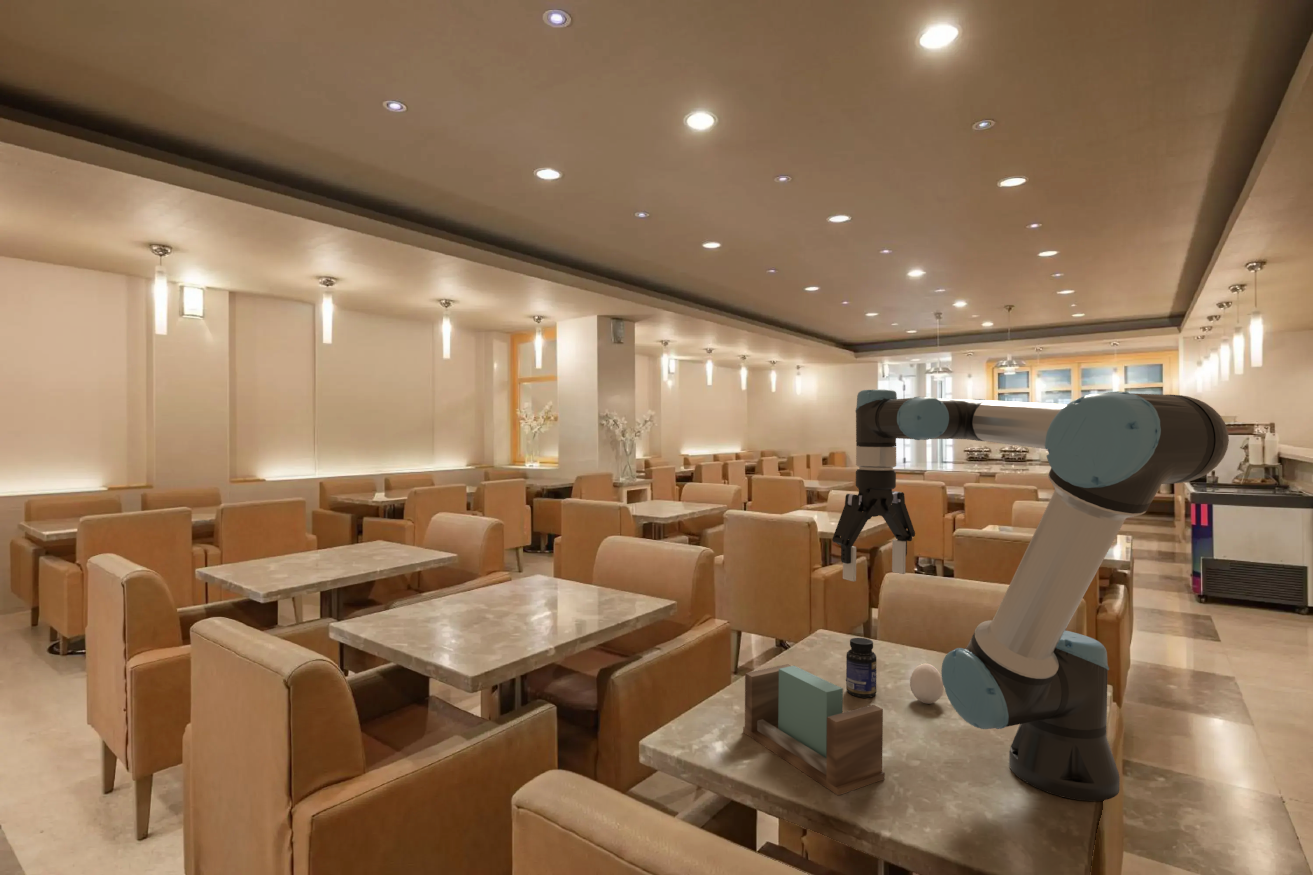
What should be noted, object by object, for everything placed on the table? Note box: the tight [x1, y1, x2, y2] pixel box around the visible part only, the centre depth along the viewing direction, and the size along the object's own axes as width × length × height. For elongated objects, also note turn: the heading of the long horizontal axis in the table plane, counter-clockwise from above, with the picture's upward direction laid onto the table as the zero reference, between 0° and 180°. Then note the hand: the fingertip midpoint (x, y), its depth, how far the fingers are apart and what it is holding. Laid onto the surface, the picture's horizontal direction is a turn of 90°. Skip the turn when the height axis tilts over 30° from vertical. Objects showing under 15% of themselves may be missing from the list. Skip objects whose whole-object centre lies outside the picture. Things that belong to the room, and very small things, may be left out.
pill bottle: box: [845, 637, 877, 699], centre depth 140 cm, size 6×6×11 cm
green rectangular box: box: [778, 665, 844, 759], centre depth 114 cm, size 12×4×12 cm, turn 29°
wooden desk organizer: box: [742, 663, 886, 796], centre depth 114 cm, size 24×10×11 cm, turn 29°
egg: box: [909, 662, 945, 705], centre depth 135 cm, size 6×6×8 cm
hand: (874, 576), depth 131 cm, fingers open, 13 cm apart
